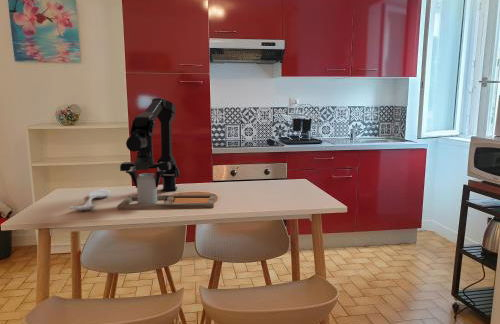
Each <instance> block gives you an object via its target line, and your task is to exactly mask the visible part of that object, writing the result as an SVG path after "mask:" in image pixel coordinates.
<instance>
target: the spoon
mask: <svg viewBox="0 0 500 324" xmlns="http://www.w3.org/2000/svg"><path fill="white" fill-rule="evenodd" d="M110 194H111V191H110V190H109V189H107V188H105V189H103V188H101V189H96V190H93V191H91V192H89V193H88V194H87V197H88V199H87V201H86V202H85V203H84V204H82V205H78V206H77V205H76V206H72V205H71V206H69V210H77V211H78V210H79V211H89V210H93V209H95V208H96V205H93V204H92V200H93V199H102V198H103V199H104V198H105V197H108V196H110Z"/></svg>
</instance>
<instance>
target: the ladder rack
mask: <svg viewBox="0 0 500 324" xmlns="http://www.w3.org/2000/svg"><path fill="white" fill-rule="evenodd" d="M174 198H210V199H209V202H208V203H173V202H172V201H173V199H174ZM165 199H167V200H165ZM215 200H216V194H209V193H208V194H167V195H166V194H161V195H160V194H159V195H158V194H157V201H164V203H155V204H139V203H132V202H134V201H138V195H128V196H126V198H124V199H123V201H121V202H120V203H119V204H118V205H117V206H116V207H117V210H118V211H120V210H124V211H125V210H165V209H166V210H167V209H173V210H175V209H177V210H178V209H213V208H214V207H215V203H216V202H215Z"/></svg>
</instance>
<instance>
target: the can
mask: <svg viewBox="0 0 500 324" xmlns="http://www.w3.org/2000/svg"><path fill="white" fill-rule="evenodd" d="M155 175H156V173H150V172H149V173H148V172H147V173H146V172H144V173H140V174H137V188H136V191H137V196H138V200H137V204H157V202H158V200H157V195H158V187H157V188H156V176H155Z"/></svg>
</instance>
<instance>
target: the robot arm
mask: <svg viewBox="0 0 500 324" xmlns="http://www.w3.org/2000/svg"><path fill="white" fill-rule="evenodd" d="M176 112H177V108H176V105H175V104H174V103H173V102H172V101H169V100H167V99H165V98H163V97H154V98H152V99H151V102H150V103H149V105H148V107H147V108H146V109H145V110H144V112H142V113H139V114H137V115H135V116H134V119H133V120H132V124H131V127H130V131H129V135H130V136H129V137H127V139H126V142H125V146H126V148H127V149H128V150H129V151H130V152H136V155H137V156H136V159H134V161H124V162H122V163H121V164H120V165H119V170H120V172H125V173H126V174H128V175H129V176H130V177H131V179H132V182H133V183H134V186H135V188H136V189H137V178H138V171H147V170H149V169H156V171H155V175H156V176H155V177H156V188H157V189H158V187H159V184H160V181H161V178H162V188H161V190H160V191H161V192H176V191H177V189H178V186H176V178H180V173H181V172H180V169H179V168H178V167H179V166H178V165H177V161H176V158H175V157H174V155H173V143H172V142H173V141H172V140H173V135H172V132H173V131H172V129H173V128H172V127H173V126H172V124H173V123H172V122H173V121H174V119H175V117H176ZM156 118H157V120H158V121H159V122H160V142H161V143H160V145H161V147H160V148H161V149H160V151H161V154H160V157H159V159H157V163H155V158H154V149H153V147H154V146H153V136H154V133H153V132H154V130H155V126H156V121H155V120H156Z"/></svg>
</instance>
